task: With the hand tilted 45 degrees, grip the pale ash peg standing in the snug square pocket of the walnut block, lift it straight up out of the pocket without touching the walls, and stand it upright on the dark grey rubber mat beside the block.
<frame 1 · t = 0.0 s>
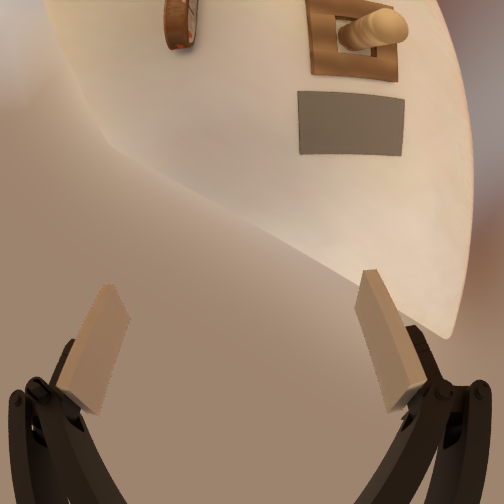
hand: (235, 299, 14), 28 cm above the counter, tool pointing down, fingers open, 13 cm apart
tin: (190, 5, 24), on the counter
peg: (368, 32, 22), in the slot block
mat: (354, 123, 34), on the counter
slot block: (351, 37, 27), on the counter
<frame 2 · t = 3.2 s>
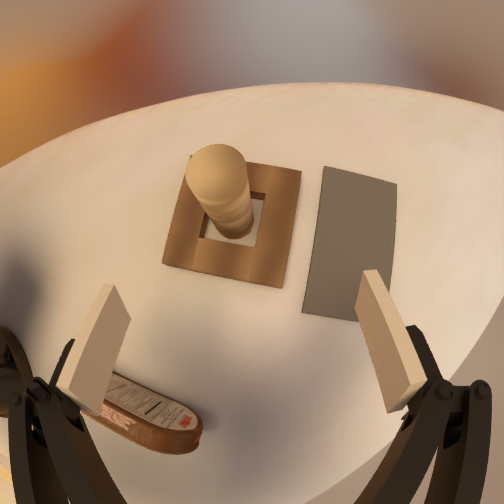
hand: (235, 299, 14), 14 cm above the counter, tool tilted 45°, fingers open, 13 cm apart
tin: (147, 394, 27), on the counter
peg: (227, 201, 23), in the slot block
mat: (355, 243, 28), on the counter
slot block: (234, 220, 29), on the counter
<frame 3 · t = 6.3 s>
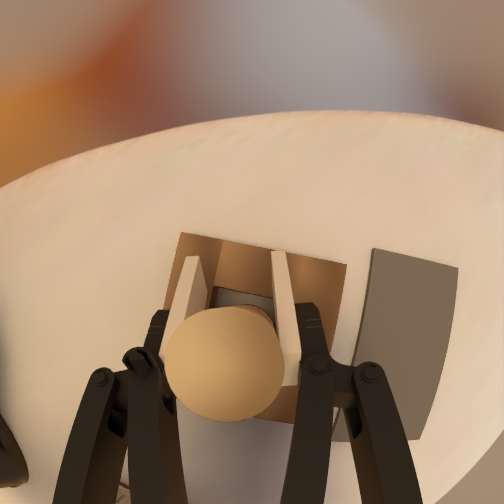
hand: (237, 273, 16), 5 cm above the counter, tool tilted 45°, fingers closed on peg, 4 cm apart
tin: (148, 499, 18), on the counter
peg: (239, 342, 14), in the slot block, touching gripper
mat: (403, 354, 19), on the counter
slot block: (246, 331, 20), on the counter
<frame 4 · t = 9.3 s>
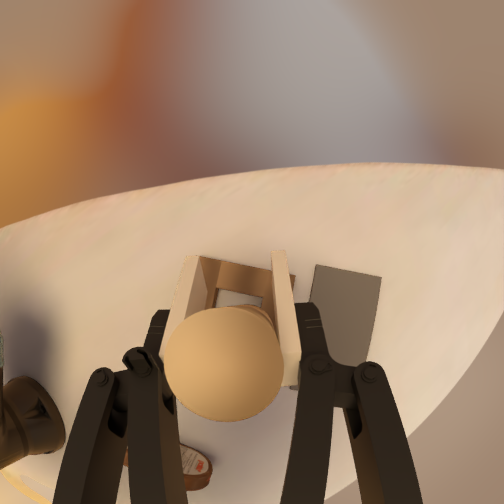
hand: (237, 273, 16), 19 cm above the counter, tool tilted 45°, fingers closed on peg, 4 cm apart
tin: (166, 441, 31), on the counter
peg: (239, 342, 14), point 20 cm above the counter, touching gripper
mat: (337, 333, 33), on the counter
slot block: (236, 314, 34), on the counter
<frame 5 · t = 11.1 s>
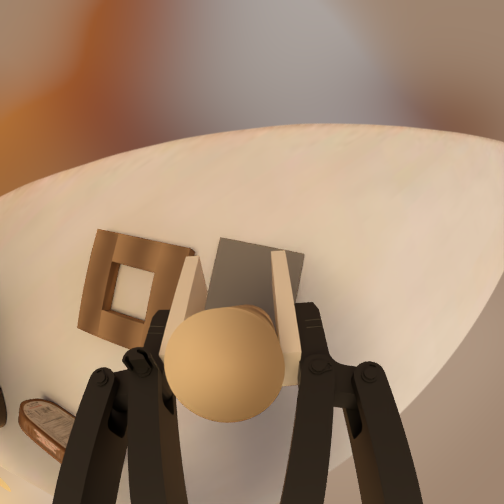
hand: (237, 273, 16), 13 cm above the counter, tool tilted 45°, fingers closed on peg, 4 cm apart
tin: (81, 425, 27), on the counter
peg: (239, 342, 14), point 14 cm above the counter, touching gripper
mat: (246, 320, 28), on the counter
slot block: (134, 292, 29), on the counter
when the fingers open (7 cm above the counter, at t = 12.4 s): peg drops 1 cm, resting on mat.
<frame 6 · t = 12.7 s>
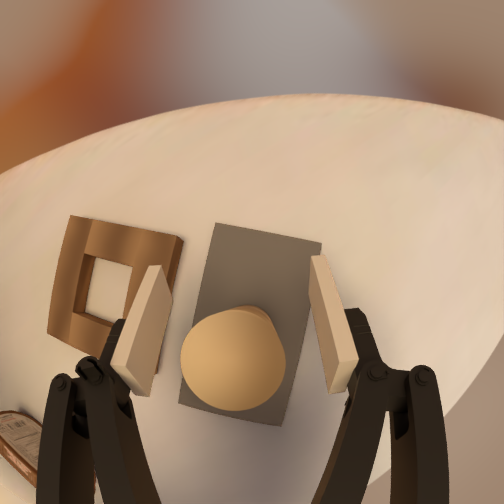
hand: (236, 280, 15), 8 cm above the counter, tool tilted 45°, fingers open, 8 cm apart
tin: (59, 442, 21), on the counter
peg: (242, 340, 16), on the mat
mat: (248, 328, 22), on the counter
slot block: (111, 292, 23), on the counter
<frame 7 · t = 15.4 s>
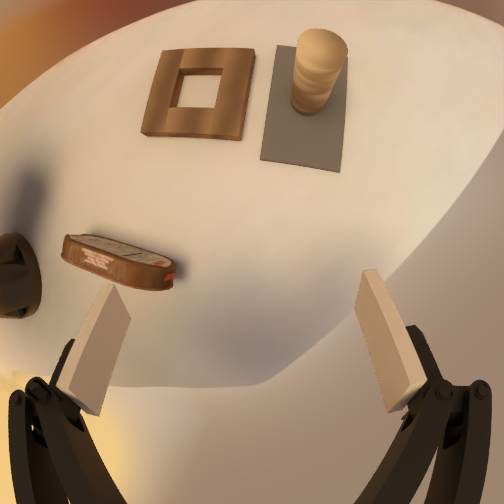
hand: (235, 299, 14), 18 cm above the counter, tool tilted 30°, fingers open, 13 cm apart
tin: (133, 253, 33), on the counter
peg: (313, 78, 22), on the mat
mat: (307, 102, 29), on the counter
slot block: (200, 93, 30), on the counter
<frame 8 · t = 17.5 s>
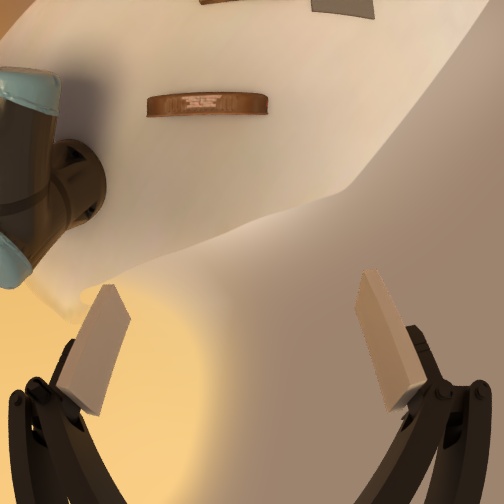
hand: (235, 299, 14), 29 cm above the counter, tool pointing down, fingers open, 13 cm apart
tin: (210, 101, 33), on the counter
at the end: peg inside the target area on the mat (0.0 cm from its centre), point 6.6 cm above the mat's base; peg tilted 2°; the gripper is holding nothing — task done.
